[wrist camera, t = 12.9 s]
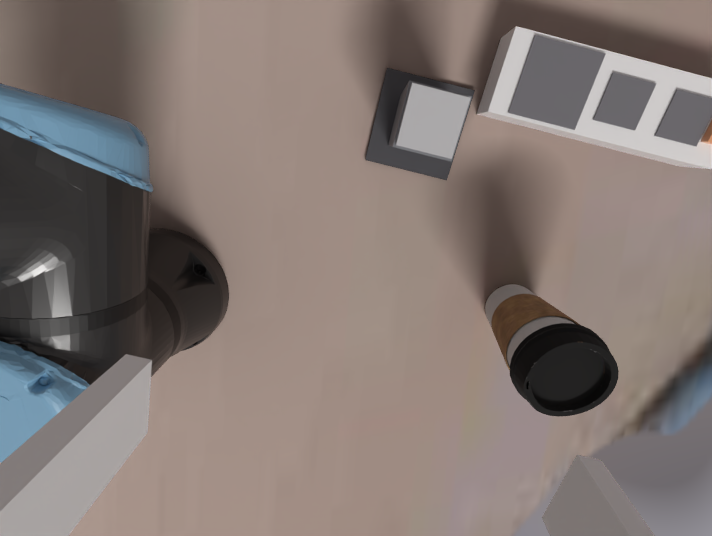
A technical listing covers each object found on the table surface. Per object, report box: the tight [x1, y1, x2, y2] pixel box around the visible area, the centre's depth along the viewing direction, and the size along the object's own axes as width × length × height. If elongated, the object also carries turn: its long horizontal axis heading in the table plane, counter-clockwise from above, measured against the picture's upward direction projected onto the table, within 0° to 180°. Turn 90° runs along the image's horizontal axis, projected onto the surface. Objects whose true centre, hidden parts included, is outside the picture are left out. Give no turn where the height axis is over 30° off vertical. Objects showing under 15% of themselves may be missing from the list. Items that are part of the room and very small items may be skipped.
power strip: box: [477, 26, 712, 169], centre depth 35 cm, size 29×7×5 cm, turn 77°
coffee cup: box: [485, 284, 618, 416], centre depth 38 cm, size 8×8×15 cm
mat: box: [366, 68, 475, 180], centre depth 39 cm, size 9×9×1 cm
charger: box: [388, 81, 472, 162], centre depth 34 cm, size 5×5×10 cm
